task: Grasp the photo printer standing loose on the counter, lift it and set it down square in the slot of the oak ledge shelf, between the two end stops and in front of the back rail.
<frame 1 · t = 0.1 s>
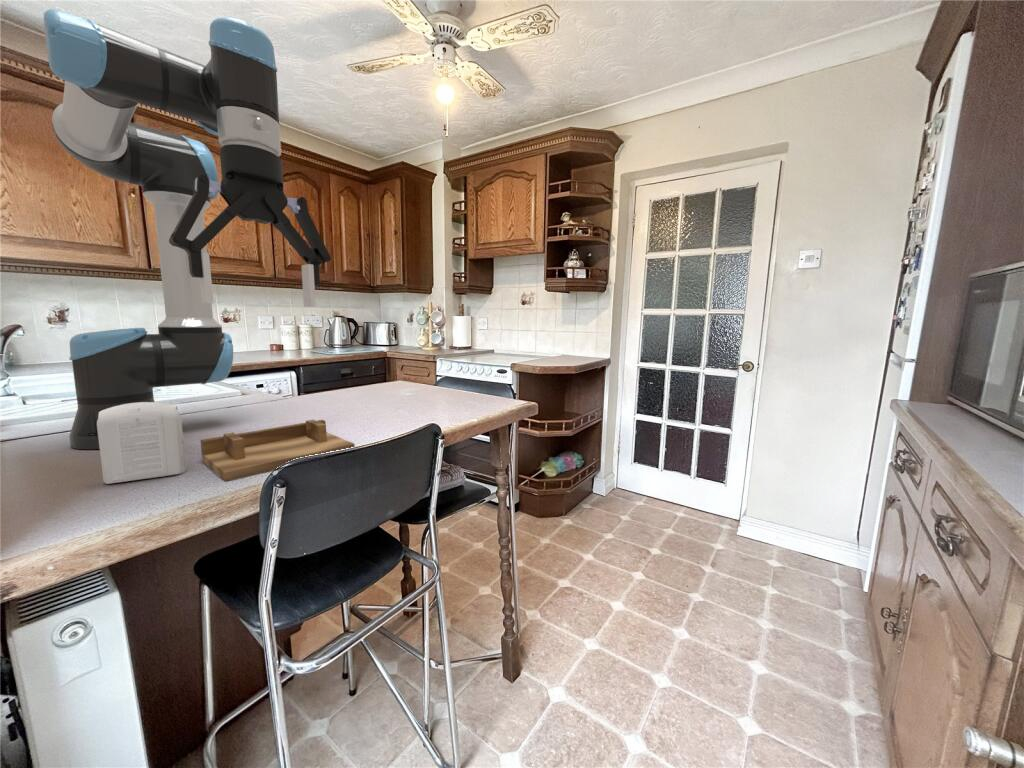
hand: (262, 305, 62), 28 cm above the table, fingers open, 13 cm apart
photo printer: (147, 477, 68), on the table
ledge shelf: (282, 455, 79), on the table
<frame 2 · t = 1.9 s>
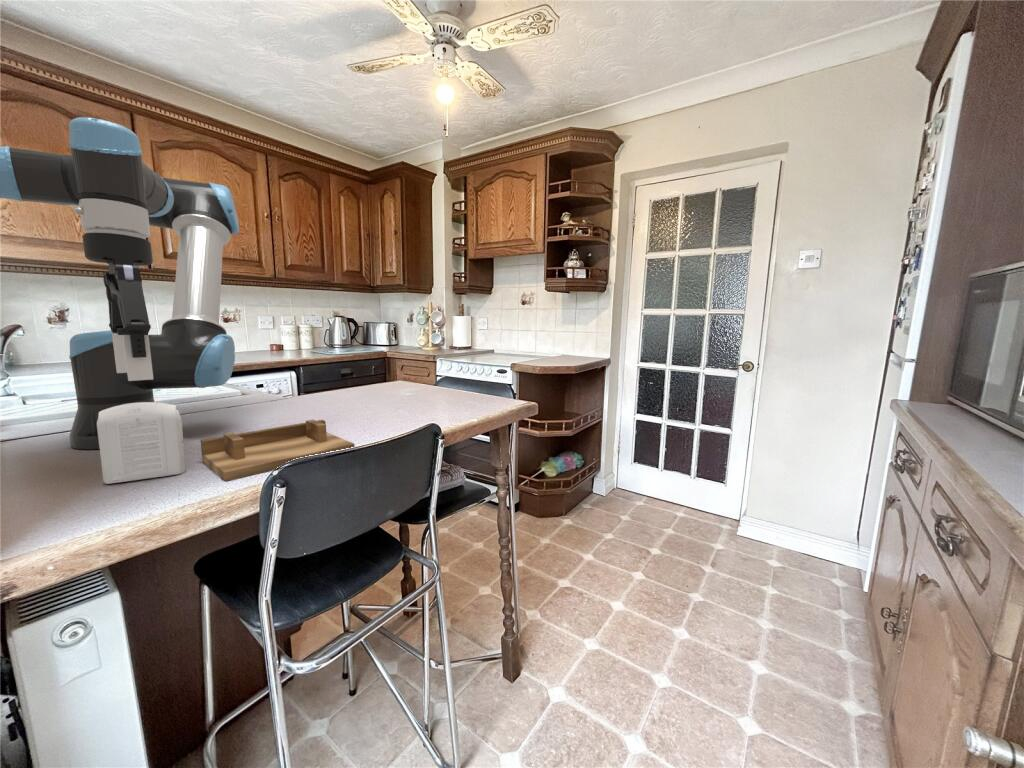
hand: (134, 376, 65), 17 cm above the table, fingers open, 13 cm apart
nothing on the table moved.
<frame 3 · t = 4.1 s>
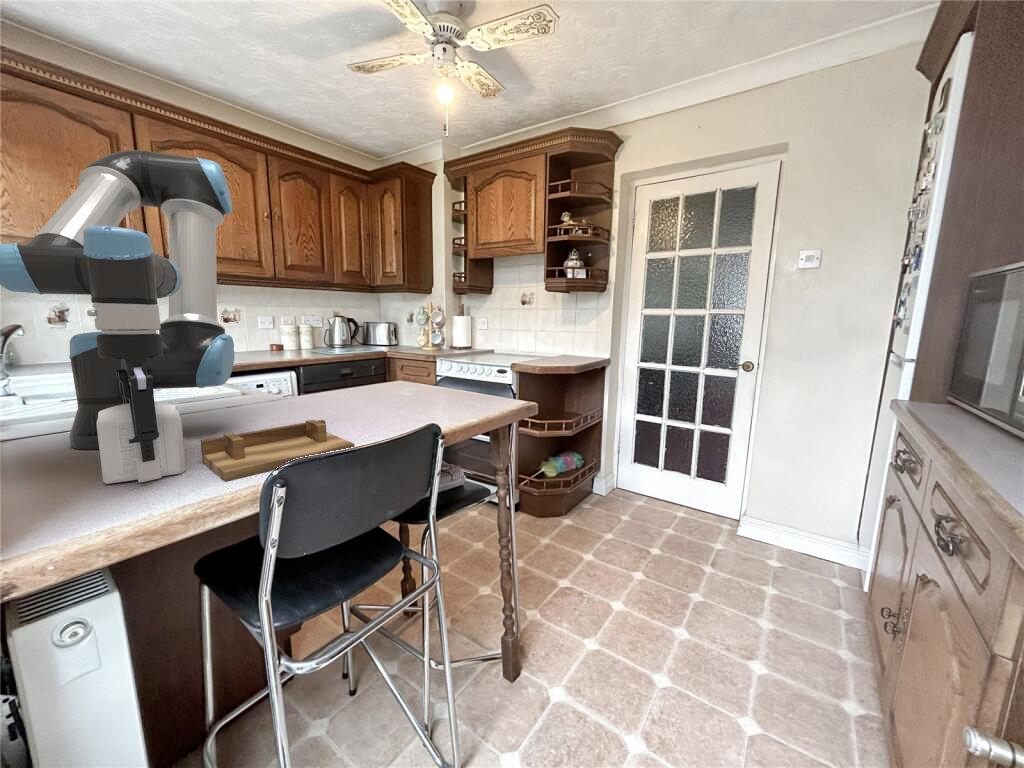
hand: (146, 474, 68), 0 cm above the table, fingers closed on photo printer, 5 cm apart
photo printer: (147, 477, 68), on the table, touching gripper
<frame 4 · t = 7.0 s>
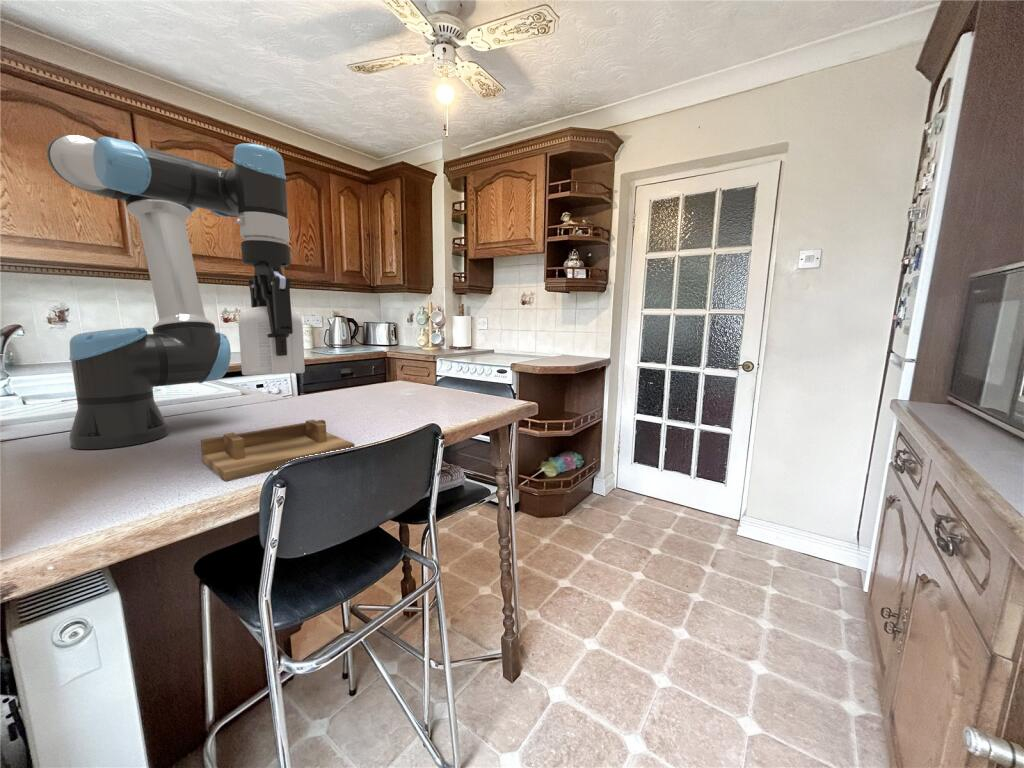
hand: (275, 372, 77), 16 cm above the table, fingers closed on photo printer, 5 cm apart
photo printer: (275, 374, 77), point 16 cm above the table, touching gripper
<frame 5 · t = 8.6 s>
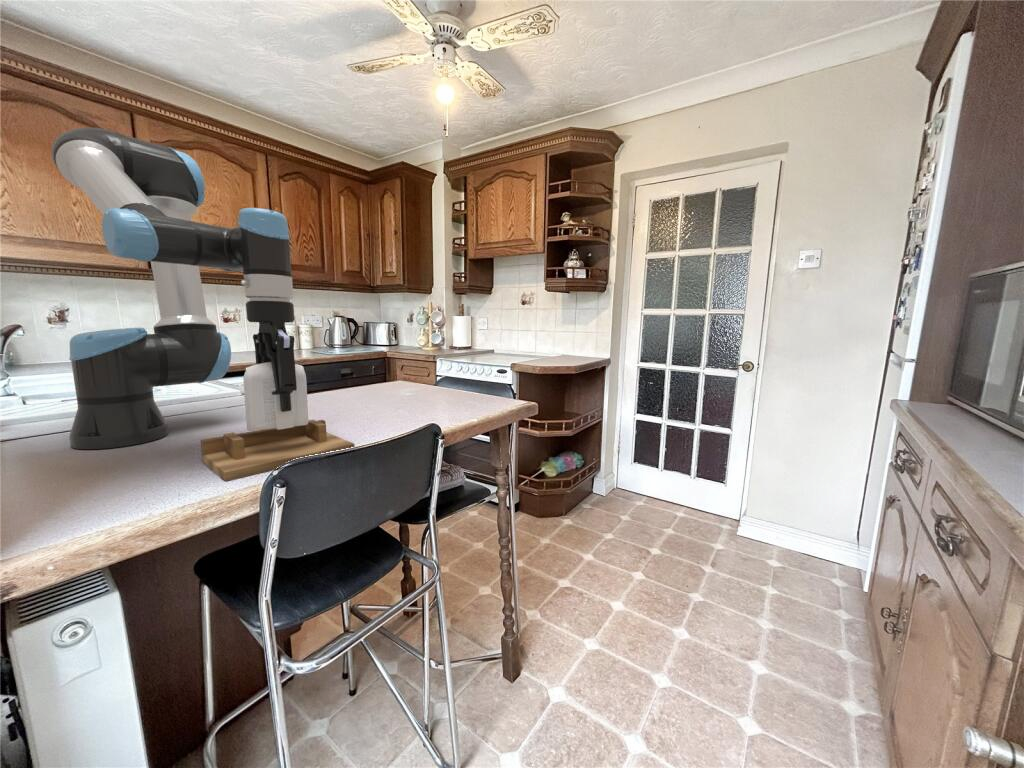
hand: (279, 425, 78), 6 cm above the table, fingers closed on photo printer, 5 cm apart
photo printer: (279, 427, 79), point 5 cm above the table, touching gripper
when the fingers open (3 cm above the table, at t = 10.0 s): photo printer stays where it is, resting on ledge shelf.
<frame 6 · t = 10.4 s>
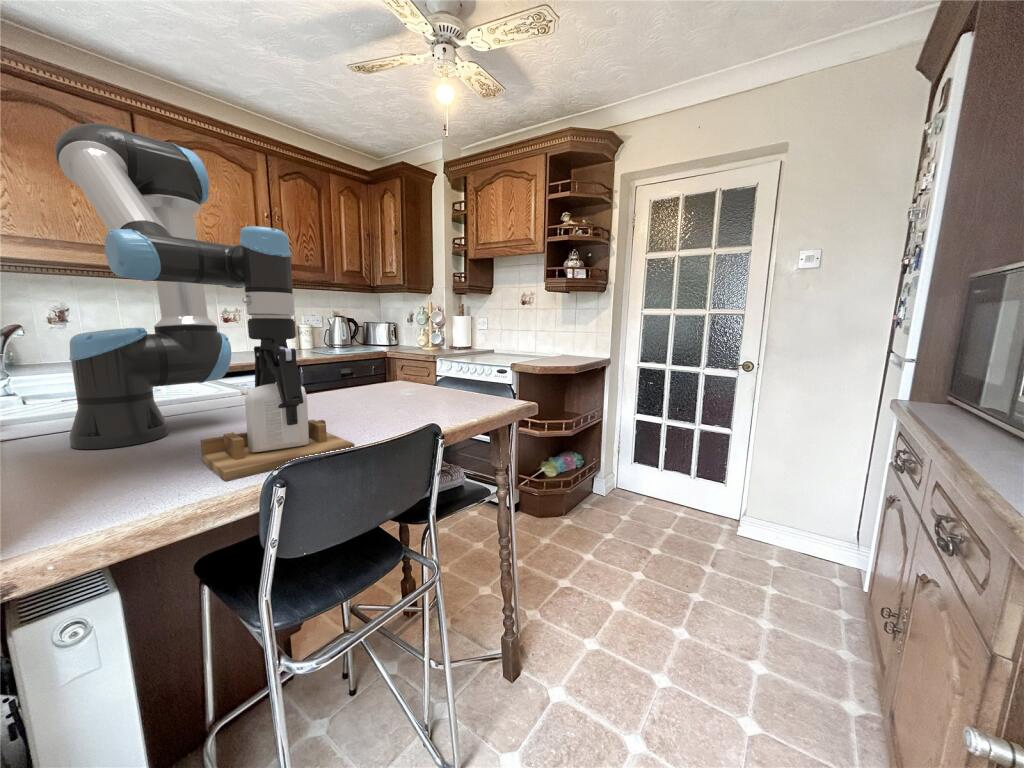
hand: (280, 436, 78), 4 cm above the table, fingers open, 10 cm apart
photo printer: (280, 448, 79), point 1 cm above the table, touching ledge shelf
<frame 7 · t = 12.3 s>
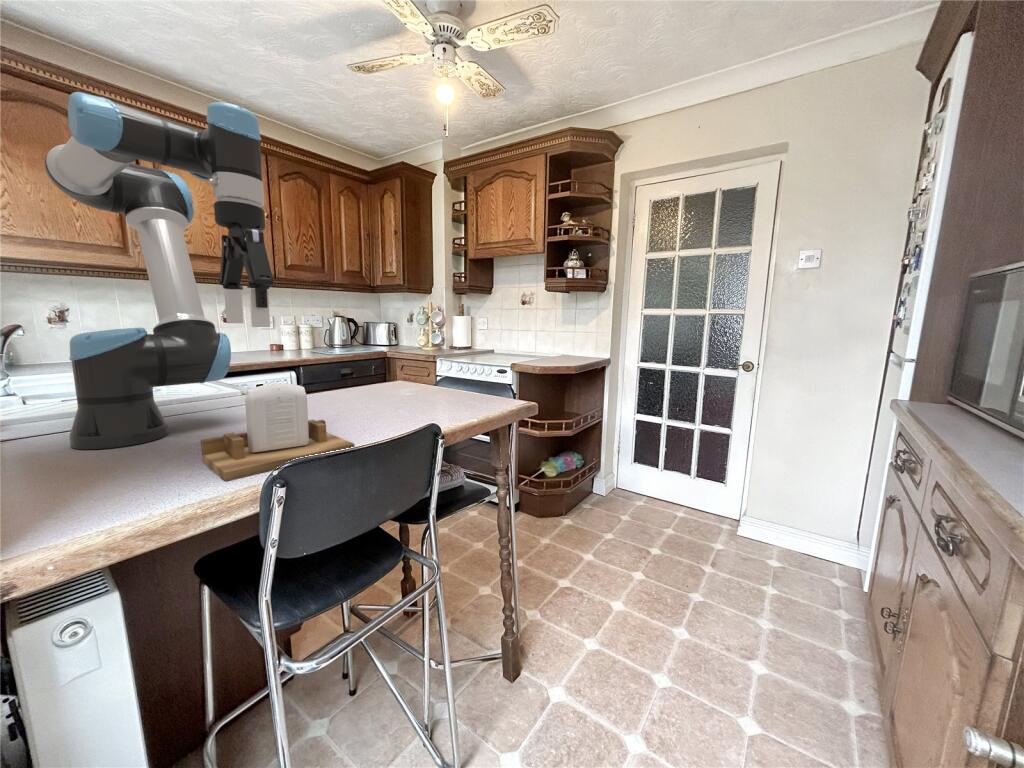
hand: (247, 325, 77), 25 cm above the table, fingers open, 13 cm apart
nothing on the table moved.
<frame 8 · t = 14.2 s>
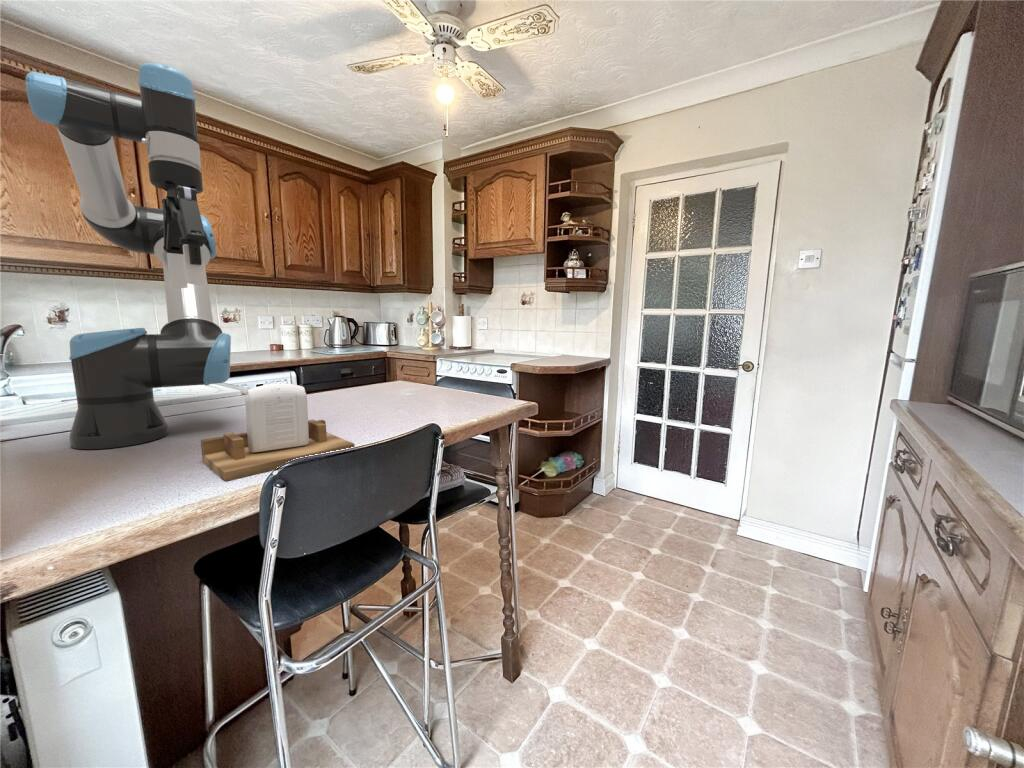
hand: (187, 286, 78), 32 cm above the table, fingers open, 13 cm apart
nothing on the table moved.
at the end: photo printer inside the target area on the ledge shelf (0.2 cm from its centre), point 1.3 cm above the ledge shelf's base; photo printer tilted 0°; the gripper is holding nothing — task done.
